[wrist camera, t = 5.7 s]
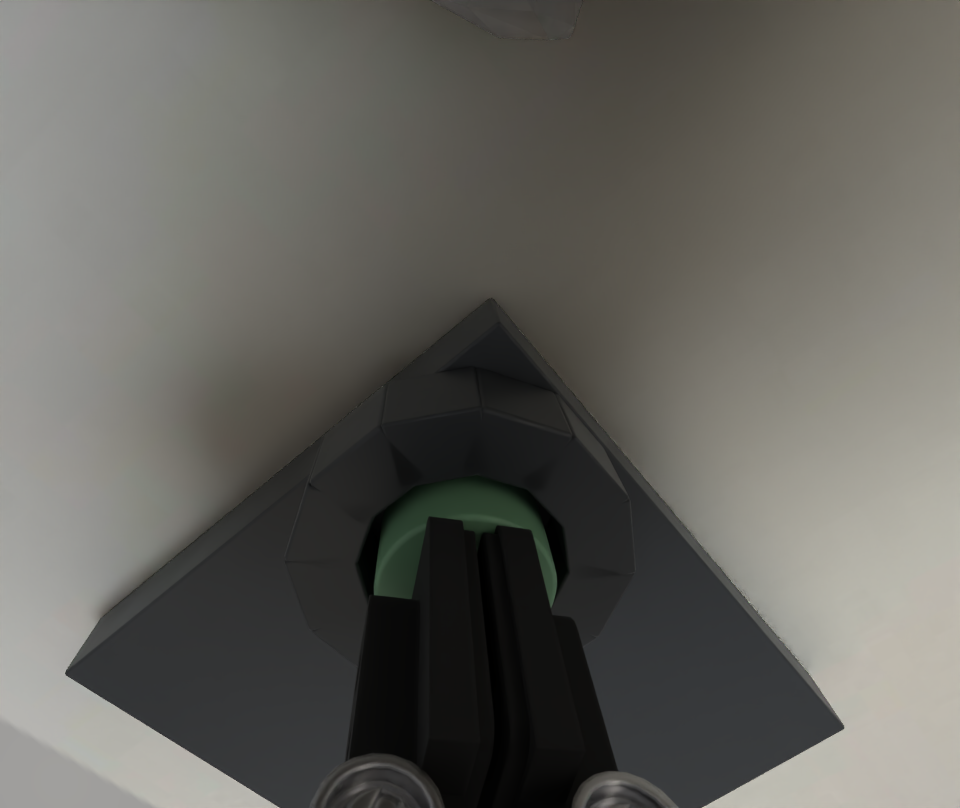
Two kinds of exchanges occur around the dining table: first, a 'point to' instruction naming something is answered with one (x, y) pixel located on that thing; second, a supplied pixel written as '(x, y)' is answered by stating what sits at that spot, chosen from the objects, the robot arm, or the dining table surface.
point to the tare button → (458, 500)
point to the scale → (351, 574)
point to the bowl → (519, 17)
